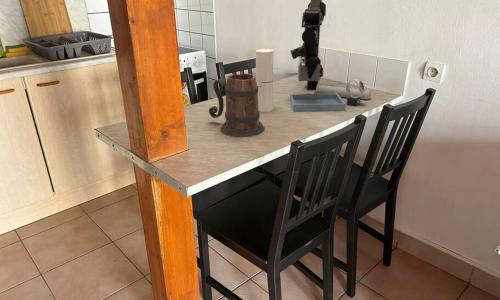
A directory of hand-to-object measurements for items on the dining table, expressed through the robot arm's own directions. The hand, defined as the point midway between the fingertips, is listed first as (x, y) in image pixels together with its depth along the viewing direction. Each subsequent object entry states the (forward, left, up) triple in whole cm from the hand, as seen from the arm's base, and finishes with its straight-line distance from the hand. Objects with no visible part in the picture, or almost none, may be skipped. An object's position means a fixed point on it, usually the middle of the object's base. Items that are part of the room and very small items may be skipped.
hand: (308, 76), depth 165 cm
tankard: (+31, -32, -12) cm, 46 cm away
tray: (+6, +3, -11) cm, 13 cm away
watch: (+5, +20, -12) cm, 23 cm away
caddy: (0, 0, -1) cm, 1 cm away
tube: (-6, +18, -12) cm, 22 cm away
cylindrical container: (+10, -20, -12) cm, 25 cm away
